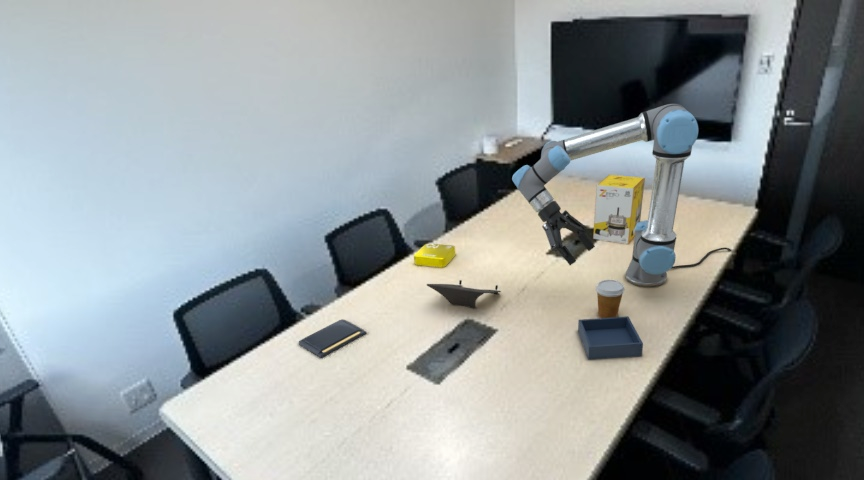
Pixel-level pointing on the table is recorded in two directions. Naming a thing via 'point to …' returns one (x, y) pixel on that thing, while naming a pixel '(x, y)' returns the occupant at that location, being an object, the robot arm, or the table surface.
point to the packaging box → (618, 208)
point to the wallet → (331, 338)
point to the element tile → (434, 255)
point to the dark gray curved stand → (461, 293)
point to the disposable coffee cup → (609, 297)
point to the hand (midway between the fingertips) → (582, 256)
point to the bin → (609, 338)
